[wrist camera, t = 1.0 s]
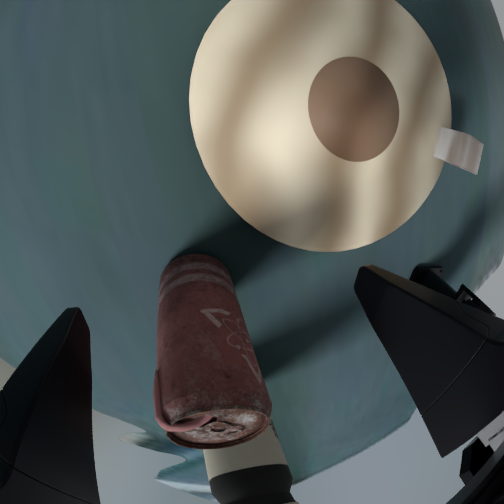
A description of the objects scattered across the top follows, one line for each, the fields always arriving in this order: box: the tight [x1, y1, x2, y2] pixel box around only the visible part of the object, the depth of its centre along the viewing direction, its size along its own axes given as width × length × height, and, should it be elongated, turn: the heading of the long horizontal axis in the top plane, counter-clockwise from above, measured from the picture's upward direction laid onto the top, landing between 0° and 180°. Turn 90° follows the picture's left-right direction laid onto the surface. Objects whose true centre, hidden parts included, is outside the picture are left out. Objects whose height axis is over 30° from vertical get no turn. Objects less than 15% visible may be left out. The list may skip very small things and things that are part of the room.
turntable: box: [189, 0, 483, 252], centre depth 16 cm, size 24×23×5 cm
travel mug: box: [203, 415, 299, 504], centre depth 24 cm, size 8×8×18 cm
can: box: [153, 253, 272, 449], centre depth 18 cm, size 6×6×14 cm
